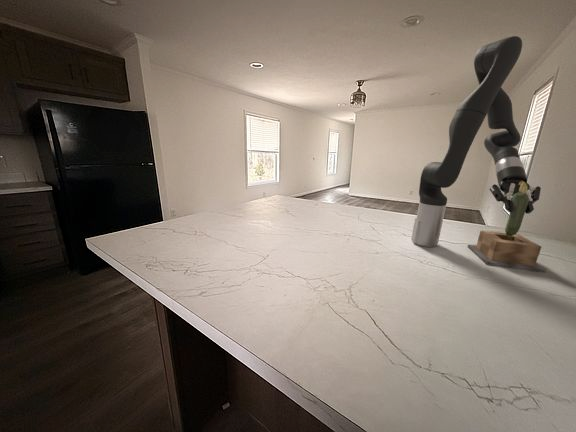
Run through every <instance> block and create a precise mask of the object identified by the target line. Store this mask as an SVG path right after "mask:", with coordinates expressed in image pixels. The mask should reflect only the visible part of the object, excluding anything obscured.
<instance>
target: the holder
mask: <svg viewBox="0 0 576 432" xmlns="http://www.w3.org/2000/svg"><path fill="white" fill-rule="evenodd" d="M467 248H468V249H469V250H470V251H471V252H472V253H473V254H474V255H476V256H477V257H478V258H479V259H480V260H481V261H482V262H483V263H484V264H485V265H488V266H495V267H502V268H507V269H516V270H524V271H531V272H537V273H545V274H546V273H547V269H546V268H544V267H543V266H541V265H540V264H538V263H537V261H538V258H539V256H540V252H541V250H542V246H541V245H539V244H537V243H535V242H534V241H532V240H530V239H529V238H527V237H524V236H522V235H521V234H518V233H517V234H515V235H513V236H510V237H507V236H506V232H499V231H489V230H480V231H479V235H478V240H477V242H476V244H475V245H474V244H467Z"/></svg>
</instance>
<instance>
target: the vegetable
mask: <svg viewBox="0 0 576 432" xmlns="http://www.w3.org/2000/svg"><path fill="white" fill-rule="evenodd" d="M520 184H521V186H520V188H519V192H518V193H516V194H514V195H513V196H512V198H511V200H512V202H513V206H514V210H513V211H512V212H509V214H508V220H507V222H506V226H505V227H504V228H505V229H504V233H506V236H507V237H510V236H513V235H515V234H518V232H519V230H520V229H521V226H522V223H523V219H524V216H525V214H526V213H525V211H526V208H527V205H528V202H529V197H528V195H527V194H526V192H527V188H528V187H527V185H526V183H525V182H523V181H520V183H519V185H520Z"/></svg>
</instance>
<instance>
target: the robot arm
mask: <svg viewBox="0 0 576 432" xmlns="http://www.w3.org/2000/svg"><path fill="white" fill-rule="evenodd" d="M522 49H523V40H522V38H521V37H520V36H517V35H514V36H513V35H512V36H508V37H505V38H502V39H500V40H496V41H494V42H490V43H487V44H485V45H483V46H481V47H480V48H479V49H478V50H477V52H476V54H475V56H474V59H473V67H474V72H475V76H476V78H477V81H478V86H477V88H475V89H474V90H473V91H472V92H471V93H470V94H468V95H467V97H466V98H465V99H464V100H463V101H462V102H461V103H460V105H458V107H457V109H456V111H455V113H454V115H453V117H452V119H451V122H449V123H450V124H449V127H448V139H449V145H448V150H447V152H446V154H445V156H444V158H443V160H442V161H441V162H440V161H439V162H438V161H431V162H430V163H427V164H426V165H425V166H424V168H423V169H422V172H421V174H420V180H419V190H418V195H419V204H418V208H417V214H416V218H414V223H413V227H412V234H411V241H412V242H413V244H414V245H418V246H422V247H427V248H436V247H438V245H439V241H440V237H441V235H440V234H441V230H442V226H443V222H444V219H445V218H444V216H445V213H446V209H447V205H448V198H447V196H446V195H445V194H444V192H443V191H442V189H445V188H446V189H447V188H449V187H451V186H452V185H454V184H455V182H456V181H457V179H458V177H459V176H460V174H461V171H462V169H463V166H464V163H465V161H466V158H467V156H468V152H469V151H470V148H471V146H472V144H473V142H474V139H475V138H476V136H477V134H478V132H479V130H480V128H481V127H482V124H483V122H484V121H485V119H486V118H487V125H488V128H489V129H490V130H501V129H502V131H499V132H496V133H495V132H494V133H491V134H489V135H487V136H486V137H485V138H484V142H483V144H484V147H485V149H486V151H487V152H488V153H489V154H490V155H491V157H492V158H493V162H494V166H495V175H496V179H497V183H498V184H492V186H491V187H490V188H489V191H490V193H491V194H492V195H493V198H495V200H496V201H497V202H498V203H499V202H502V203H503V204H504V207H505V211H507V212H508V213H510V212H512V211H513V210H514V206H513V202H512V200H511V198H512V197H513V195H514V194H516V193H518V192H519V188H520V186H521V184H520V185H519V183H520V181H523V182H525V183H526V185H527V187H528V188H527V192H526V194H527V195H528V197H529V202H528V205H527V208H526V211H525V214H530V213H532V212H533V211H534V210H535V208H534V204H535V203H536V202H537V201H539V200H540V195H541V188H542V187H540V186H536V187H534V186H531V185H530V184H529V183H528V177H527V174H526V171H525V167H524V164H523V162H522V160H521V157H520V153H519V150H518V149H517V146H518V145H519V143H520V142H521V139H522V138H521V134H520V133H519V130H518V129H517V126H516V125H515V122H514V116H513V114H514V113H513V104H512V100H511V97H509V95H508V94H507V93H506V92H505V90H504V89H503V88H502V86H503V84H504V83H505V81H506V80H507V78H508V77H509V75H510V73H511V72H512V70H513V68H514V67H515V65H516V63H517V62H518V59H519V58H520V55H521V54H522Z"/></svg>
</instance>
